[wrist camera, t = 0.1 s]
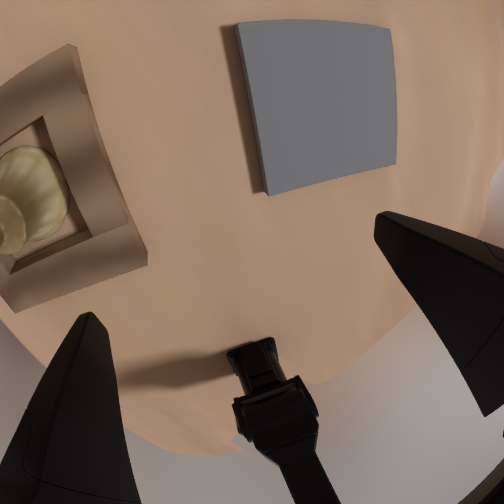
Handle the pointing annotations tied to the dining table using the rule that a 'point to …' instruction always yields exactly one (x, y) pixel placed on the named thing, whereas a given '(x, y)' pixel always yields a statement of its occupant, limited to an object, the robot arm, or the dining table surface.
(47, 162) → the hand bell
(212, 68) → the dining table surface
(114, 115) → the dining table surface
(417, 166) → the dining table surface
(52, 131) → the walnut well board
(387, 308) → the dining table surface
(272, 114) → the grey rubber mat
